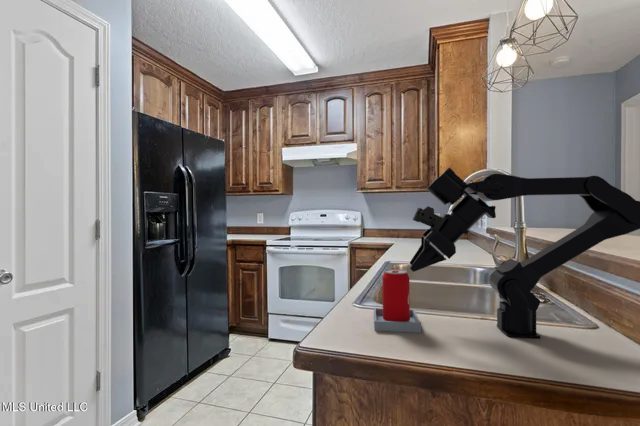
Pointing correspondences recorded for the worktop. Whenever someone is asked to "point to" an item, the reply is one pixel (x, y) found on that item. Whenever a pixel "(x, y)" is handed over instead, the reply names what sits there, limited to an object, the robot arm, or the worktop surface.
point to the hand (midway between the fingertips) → (411, 267)
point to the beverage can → (396, 295)
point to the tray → (396, 323)
